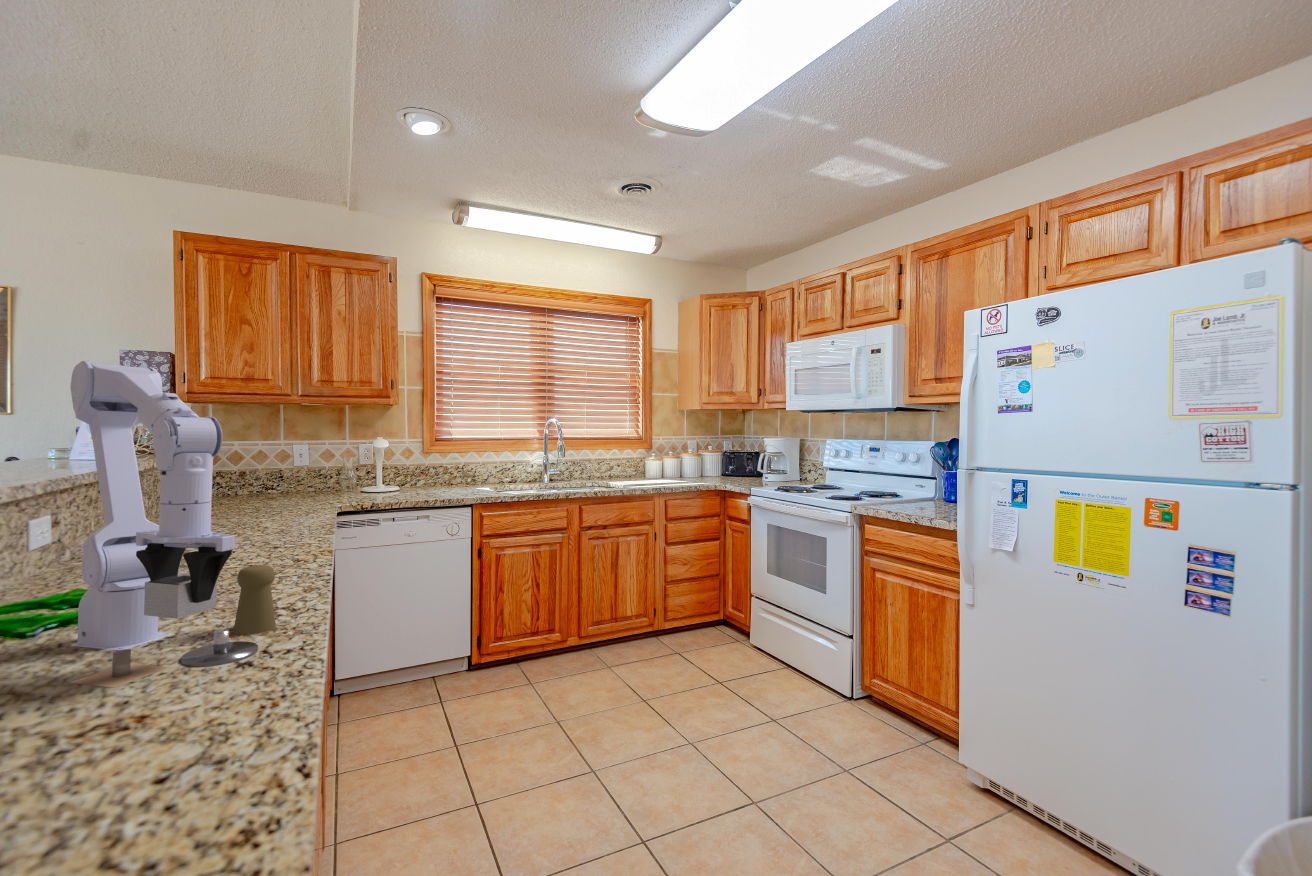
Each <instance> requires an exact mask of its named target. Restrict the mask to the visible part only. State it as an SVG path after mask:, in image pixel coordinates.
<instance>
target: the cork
mask: <svg viewBox="0 0 1312 876" xmlns="http://www.w3.org/2000/svg"><path fill="white" fill-rule="evenodd" d="M275 572H276V571H275V569H274V568H273V567H272V565H271V566H270V565H266V564H256V565H254V564H253V565H248V566H244V567H243V568H241V569H240V570H239V571H238V573H237V576H236V577H237V579H236V580H237V584H238V586H239V587H240V594H239V598H238V603H237V610H236V615H235V620H234V625H233V630H232V633H233V634H235V635H239V636H240V635H241V636H246V635H247V636H248V635H249V636H250V635H257V634H264V633H266V632H269V631H271V632H273V631H274V632H276V631H277V625H276V617H275V616H276V615H275V611H274V610H275V609H274V601H273V595H272V585H273V583H274V581H275V578H276V577H275V576H276V573H275ZM275 630H276V631H275Z"/></svg>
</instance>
